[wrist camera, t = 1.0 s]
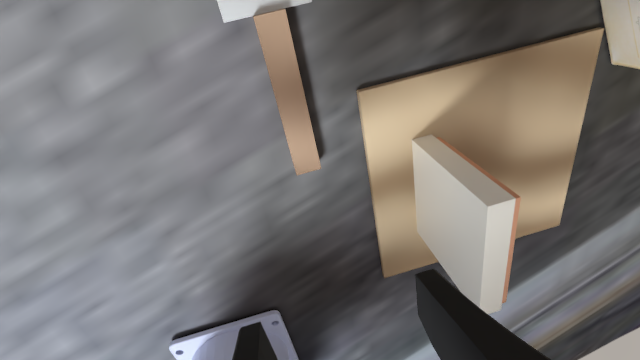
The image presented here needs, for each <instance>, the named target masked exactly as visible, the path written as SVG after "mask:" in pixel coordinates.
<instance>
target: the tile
mask: <svg viewBox="0 0 640 360" xmlns="http://www.w3.org/2000/svg"><path fill="white" fill-rule="evenodd" d="M412 152H413V169H414V186H415V203H416V220H417V232H418V233H419V235H420V236H421V238H422V239H423V240H424V242H425V243H426V245H427V246H428V247H429V249H430V250H431V251H432V253H433V254H434V256H435V257H436V258H437V260H438V261H439V263H440V264H441V265H442V267H443V268H444V269H445V271H446V272H447V274H448V275H449V276H450V278H451V279H452V280H453V282H454V283H455V285H456V286H457V287H458V289H459V290H460V292H461V293H462V294H463V295H465V296H466V297H467V298H468V299H469V300H471V301H472V302H473V303H474V304H475V305H477V306H478V307H479V308H480V309H482V310H483V311H484V312H485V313H487V314H490V313H493V312H496V311H499V310H501V306H502V303H504V302H506V298H507V291H508V284H509V277H510V270H511V263H512V256H513V249H514V242H515V235H516V228H517V221H518V214H519V207H520V200H521V197H520V196H519V195H517V194H516V193H515V192H513V191H512V190H511V189H509V188H508V187H507V186H505V185H504V184H503V183H501V182H500V181H498V180H497V179H496V178H494V177H493V176H492V175H490V174H489V173H488V172H486V171H485V170H484V169H482V168H481V167H480V166H478V165H477V164H476V163H474V162H473V161H471V160H470V159H469V158H467V157H466V156H465V155H463V154H462V153H461V152H459V151H458V150H457V149H455V148H454V147H453V146H451V145H450V144H449V143H447V142H446V141H445V140H443V139H442V138H440V137H437V138H436V137H434V136H433V135H432V134H430V135H427V136H423V137H420V138H416V139H412Z"/></svg>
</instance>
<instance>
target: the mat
mask: <svg viewBox="0 0 640 360" xmlns="http://www.w3.org/2000/svg"><path fill="white" fill-rule="evenodd" d="M603 31H604V28H594V29H590V30H586V31H582V32H579V33H575V34H571V35H567V36H563V37H559V38H555V39H552V40H548V41H544V42H540V43H536V44H532V45H529V46H525V47H521V48H517V49H513V50H509V51H505V52H502V53H498V54H494V55H490V56H486V57H482V58H479V59H475V60H471V61H467V62H463V63H459V64H455V65H452V66H448V67H444V68H440V69H436V70H432V71H429V72H425V73H421V74H417V75H413V76H409V77H405V78H402V79H398V80H394V81H390V82H386V83H382V84H379V85H375V86H371V87H367V88H363V89H359V90H357V97H358V104H359V111H360V118H361V125H362V132H363V140H364V147H365V154H366V161H367V168H368V175H369V182H370V189H371V196H372V203H373V210H374V217H375V224H376V231H377V238H378V245H379V252H380V259H381V266H382V273H383V276H384V278H387V277H390V276H393V275H396V274H400V273H403V272H406V271H410V270H413V269H416V268H420V267H423V266H426V265H429V264H433V263H436V262H439V261H438V260H437V258H436V257H435V256H434V254H433V253H432V251H431V250H430V249H429V247H428V246H427V245H426V243H425V242H424V240H423V239H422V238H421V236H420V235H419V233H418V232H417V220H416V203H415V186H414V169H413V152H412V139H416V138H420V137H423V136H427V135H430V134H432V135H433V136H434V137H436V138H437V137H440V138H442V139H443V140H445V141H446V142H447V143H449V144H450V145H451V146H453V147H454V148H455V149H457V150H458V151H459V152H461V153H462V154H463V155H465V156H466V157H467V158H469V159H470V160H471V161H473V162H474V163H476V164H477V165H478V166H480V167H481V168H482V169H484V170H485V171H486V172H488V173H489V174H490V175H492V176H493V177H494V178H496V179H497V180H498V181H500V182H501V183H503V184H504V185H505V186H507V187H508V188H509V189H511V190H512V191H513V192H515V193H516V194H517V195H519V196H520V197H521V200H520V207H519V214H518V221H517V228H516V235H515V238H519V237H522V236H525V235H529V234H532V233H535V232H538V231H542V230H545V229H548V228H552V227H555V226H558V225H559V224H560V220H561V215H562V211H563V206H564V202H565V198H566V193H567V189H568V185H569V180H570V176H571V171H572V167H573V163H574V158H575V154H576V149H577V145H578V141H579V136H580V132H581V127H582V123H583V119H584V114H585V110H586V106H587V101H588V97H589V92H590V88H591V84H592V79H593V75H594V70H595V66H596V62H597V57H598V53H599V49H600V44H601V40H602V35H603Z"/></svg>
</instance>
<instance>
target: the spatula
mask: <svg viewBox="0 0 640 360" xmlns="http://www.w3.org/2000/svg"><path fill="white" fill-rule="evenodd" d="M217 2H218V5H219V8H220V11H221V15H222V18H223V21H224V23H225V22H230V21H234V20H238V19H242V18H246V17H250V16H253V18H254V21H255V25H256V28H257V32H258V36H259V39H260V43H261V47H262V50H263V54H264V58H265V61H266V65H267V69H268V72H269V76H270V80H271V83H272V87H273V91H274V94H275V98H276V102H277V105H278V109H279V113H280V116H281V120H282V124H283V127H284V131H285V135H286V138H287V142H288V146H289V149H290V153H291V156H292V160H293V164H294V167H295V171H296V174H297V175H300V174H304V173H307V172H311V171H314V170H318V169H321V165H320V161H319V156H318V152H317V147H316V143H315V138H314V134H313V129H312V125H311V121H310V116H309V112H308V107H307V103H306V98H305V94H304V90H303V85H302V81H301V76H300V72H299V67H298V63H297V59H296V54H295V50H294V45H293V41H292V36H291V32H290V28H289V23H288V19H287V14H286V10H285V9H284V8H288V7H292V6H297V5H301V4H305V3H309V2H312V0H217Z"/></svg>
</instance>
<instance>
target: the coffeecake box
mask: <svg viewBox="0 0 640 360" xmlns="http://www.w3.org/2000/svg"><path fill="white" fill-rule="evenodd" d="M600 2H601V7H602V13H603V20H604V25H605V30H606V36H607V41H608V46H609V52H610V57H611V64H613V65H621V66H626V67H632V68H637V69H640V0H600Z"/></svg>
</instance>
